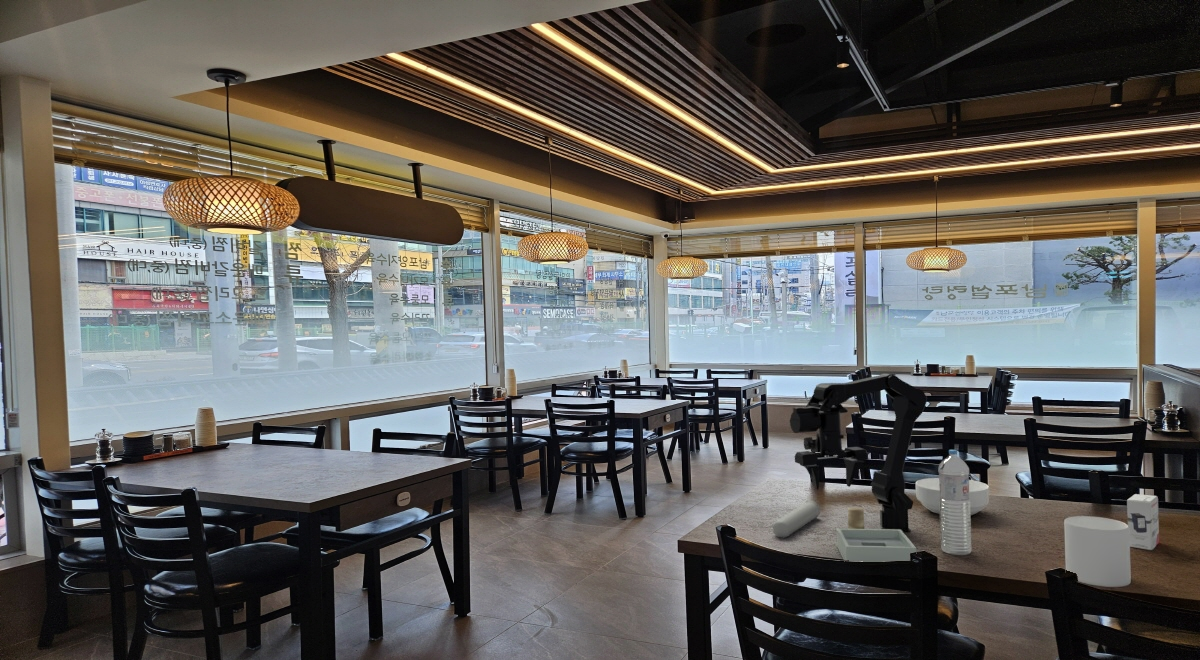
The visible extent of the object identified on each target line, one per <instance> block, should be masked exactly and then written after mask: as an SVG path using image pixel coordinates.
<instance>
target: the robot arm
mask: <svg viewBox="0 0 1200 660" xmlns="http://www.w3.org/2000/svg"><path fill="white" fill-rule="evenodd" d="M880 391H884V392H885V393H886V394H887V395H888V396H889V397H890V398H891V399H893V405H892V406H893V411H894V415H895V420H894V424H893V427H892V432H891V436H890V440H889V444H888V448H887V453H886V457H885V461H884V465H883V468H881V470H880V471H874V472H873V475H872V481H871V483H870V484H869V485H870V486H871V492H872V494H873V496H874V497H875V498H876V500H877V503H878V504H879V505H881V510H879V525H880V526H881V528H882V529H899V530H902V532H903V533H904V532H911V528H910V527H909V510H912V509H913V505H914V501H913V500H912V498H911V497H910V496H908V495H907V494H906V493H905V489H906V482H905V478H904V475H903V474H904V473H903V472H904V471H903V470H904V467H905V463H906V459H907V455H908V450H909V446H910V441H911V438H912V435H913V430H914V426H915V422H916V421H917V420H918V418H919V417H920V416H921V415H922V414H923V412H924V409H925V407H926V405H927V401H928V397H927V395H926V393H925V391H924V390H922V389H920V388H917V387H915V386H912V385H911V384H909V383H907V382H905V381H904V380H902V379H901V378H899V377H898V376H897V375H895V374H893V373H892V374H891V373H881V374H879V375H876V376H871V377H866V378H861V379H856V380H853V381H848V382H823V383H822V382H821V383H819V384H817V385H815V388H814V389H813V394H812V396H811V397H810V399H809V401H808V403H807V404H806V406H805V407H800V406H799V407H798V406H797V407H793V408H792V409H793V410H792V411H793V412H792V413H791V415H790V419H789V425H790V429H791V431H792V433H794V434H803V433H815V432H817V431H818V432H817V433H816V438H815V439H813V437H812V436H810V437H808V436H807V437H804V438H803V447H804V451H796V452H795V454H794V462H795V463H796V464H799V465H800V466H801V467H803V468H805V469H806V470H807V473H808V475H809V477H810V479H811V481H812V484H813V486H814V489H815V490H817V491H819V488H820V466H819V465H817V463H818V462H819V461H829V460H838V459H839V460H841V459H843V461H844V464H845V481H846V486H847V487H849V488H850V487H851V485H852V483H853V481H854V478H855V476H856V474H857V472H858V470H859V468H860V467H861V465H862V464H864V463H865V461H868V460H869V452H867V449H865V448H862V447H860V446H851V447H845V448H844V449H843V443H842V439H844V438H845V437H844V434H843V433H842V426H841V425H842V424H841V414H844V413H845V414H846V413H848V409H847V408H845V407H844V406H843V404H844V403H845V402H847V401H849V399H852V398H853V397H857V396H862V395H867V394H872V393H875V392H877V393H878V392H880Z"/></svg>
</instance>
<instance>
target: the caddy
mask: <svg viewBox="0 0 1200 660" xmlns="http://www.w3.org/2000/svg"><path fill="white" fill-rule="evenodd" d="M836 546H837V548H838V551H839V553H840V554H841V557H842V559H843V561H844V560H849V561H863V562H883V561H909V560H910V553H913V552H916V553H917V547H916V546H915V545H914V544H913V542H912V541H911V540H910V538H909V537H908V536H907V535H906V534H905V533H904V532H902V530H899V529H883V528H882V529H880V528H864V529H848V528H836Z"/></svg>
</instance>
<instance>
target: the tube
mask: <svg viewBox="0 0 1200 660" xmlns="http://www.w3.org/2000/svg"><path fill="white" fill-rule="evenodd" d="M820 510H821V507H820V505H819V504H818V503H816V501H812V500H806V501H805V503H803V504H801V505H799V506H798V507H796V508H794V509H792V510H790V511H789V512H788V513H786V514H785V515H782V516H781V517H779V518H778V519H776V520H775V522H774V523H773V525H772V530H773V531H772V533H773V534H774V535H775V536H776V537H777V538H783V537H784V538H787V536H788V537H789V536H791V535H792V534H793V532H794V533H795V532H796V530H797V531H798V530H799V528H800V529H801V528H803V527H804V526H806V525H808V524H809V523H810V522H811V520H812V521H813V520H815V519H817V518H818V517H819V515H820V514H821V511H820ZM814 518H815V519H814ZM808 522H809V523H808ZM805 524H806V525H805ZM802 526H803V527H802ZM790 534H791V535H790ZM784 538H783V539H784Z"/></svg>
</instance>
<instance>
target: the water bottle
mask: <svg viewBox="0 0 1200 660" xmlns="http://www.w3.org/2000/svg"><path fill="white" fill-rule="evenodd" d="M957 455H958V450H956V449H949V450H948V456H947V457H946V458H944V459H943V460H941V462H940V463H939V465H938V467H937V468H938V478H939V487H940V498H939V501H940V502H939V504H940V514H939V523H940V524H939V525H940V526H939V527H940V528H939V529H940V546H941V547H940V548H941V551H942V552H944V553H945V554H948V555H953V556H967V555H970V554H971V552H972V530H971V529H972V524H971V523H972V522H971V521H972V519H971V516H972V515H970V499H969V480H970V479H969V477H970V468H969V466H968V465H967V463H966V462H965V461H964V460H963V459H962V458H960V457H959V456H957Z"/></svg>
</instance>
